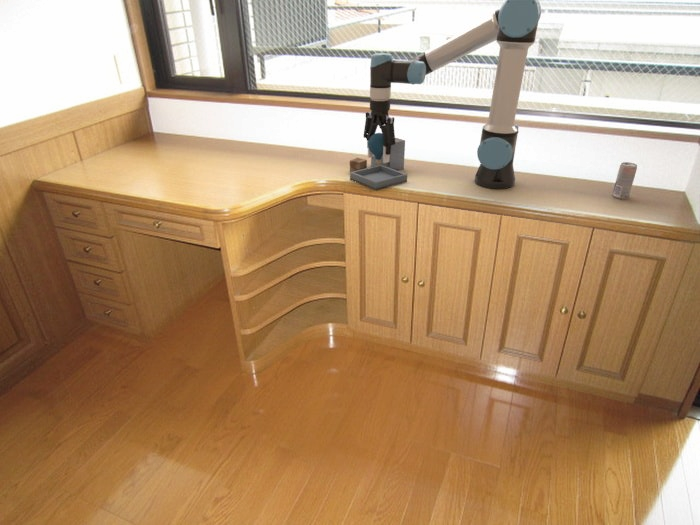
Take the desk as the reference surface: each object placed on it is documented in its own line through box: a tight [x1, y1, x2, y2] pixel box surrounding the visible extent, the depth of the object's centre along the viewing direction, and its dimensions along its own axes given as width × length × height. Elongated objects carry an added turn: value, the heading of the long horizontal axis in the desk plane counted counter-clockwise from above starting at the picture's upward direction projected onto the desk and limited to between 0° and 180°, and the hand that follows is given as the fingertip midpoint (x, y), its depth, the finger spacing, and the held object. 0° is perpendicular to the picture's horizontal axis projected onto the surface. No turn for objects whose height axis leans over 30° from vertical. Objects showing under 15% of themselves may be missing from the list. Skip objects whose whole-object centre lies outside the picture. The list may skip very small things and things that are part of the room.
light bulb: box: [367, 132, 385, 164], centre depth 188 cm, size 8×8×12 cm
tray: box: [349, 165, 408, 191], centre depth 193 cm, size 16×16×3 cm
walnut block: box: [349, 157, 368, 173], centre depth 203 cm, size 5×5×5 cm
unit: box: [370, 137, 406, 171], centre depth 206 cm, size 12×8×14 cm, turn 38°
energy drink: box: [612, 161, 638, 200], centre depth 174 cm, size 5×5×12 cm
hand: (378, 159), depth 190 cm, fingers closed on light bulb, 8 cm apart
